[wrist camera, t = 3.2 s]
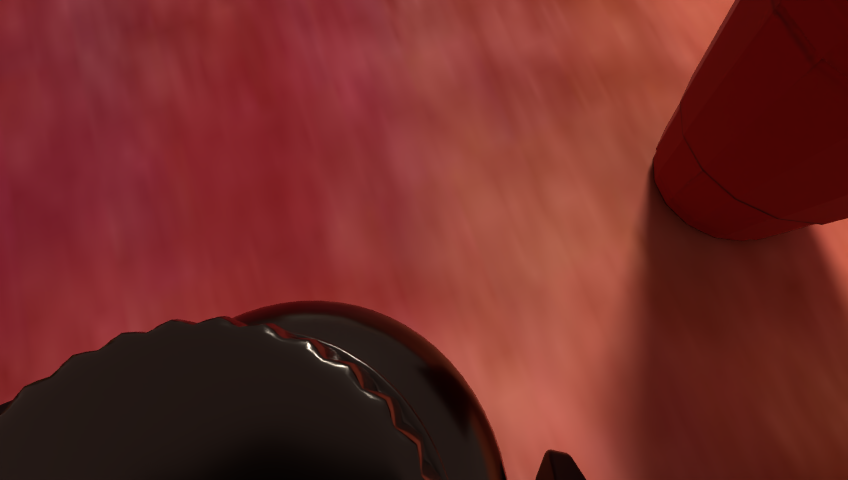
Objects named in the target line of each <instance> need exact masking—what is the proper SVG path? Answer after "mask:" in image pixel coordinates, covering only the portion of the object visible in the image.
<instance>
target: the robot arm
mask: <svg viewBox="0 0 848 480" xmlns="http://www.w3.org/2000/svg"><path fill="white" fill-rule="evenodd" d="M11 402H12V401H9V402H7V403H4V404H2V405H0V414H1V413H3V412H4V411H5V409H6V408H7V407H8V406H9V404H10V403H11ZM536 480H586V479H585V477H584V475H583V474H582V472H581V471H580V469H579V468H578V466H577V465H576V463H575V462H574V460H573V459H572V457H571V456H570V455H569V454H567V453H564V452H560V451H555V450H547V451H546V453H545V455H544V457H543V460H542V463H541V465H540V468H539V471H538V473H537V476H536Z"/></svg>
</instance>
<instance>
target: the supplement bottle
mask: <svg viewBox="0 0 848 480" xmlns="http://www.w3.org/2000/svg"><path fill="white" fill-rule="evenodd" d="M0 480H507V476H506V472H505V468H504V464H503V460H502V456H501V452H500V449H499V446H498V443H497V440H496V437H495V435H494V432H493V429H492V427H491V425H490V423H489V420H488V418H487V416H486V414H485V411H484V410H483V408H482V406H481V404H480V403H479V401H478V399H477V397H476V395H475V394H474V392H473V391H472V389H471V388H470V386H469V385H468V383H467V382H466V380H465V379H464V378H463V376H462V375H461V374H460V373H459V371H458V370H457V369H456V368H455V367H454V365H453V364H452V363H451V362H450V361H449V360H448V359H447V358H446V357H445V356H444V355H443V354H442V353H441V352H440V351H439V350H438V349H437V348H436V347H435V346H434V345H432V344H431V343H430V342H429V341H427V340H426V339H425V338H424V337H422V336H421V335H420V334H418V333H417V332H415V331H414V330H412V329H411V328H409V327H407V326H406V325H404V324H402V323H400V322H398V321H396V320H394V319H393V318H391V317H388V316H386V315H383V314H381V313H378V312H376V311H373V310H370V309H367V308H363V307H360V306H356V305H351V304H346V303H340V302H330V301H296V302H288V303H280V304H276V305H271V306H266V307H262V308H259V309H256V310H252V311H249V312H246V313H243V314H241V315H238V316H236V317H233V318H230V317H226V316H221V317H216V318H212V319H208V320H205V321H202V322H200V323H194V322H190V321H185V320H179V319H175V320H170V321H168V322H165V323H163V324H161V325H159V326H157V327H156V328H155V329H153V330H151V331H149V332H147V333H146V332H126V333H121V334H120V335H118V336H117V337H115V338H114V339H112V340H111V341H109V342H108V343H107V344H106V345H105V346H104V347H102V348H101V349H99V350H97V351H89V352H83V353H79V354H75V355H72V356H71V357H70V358H69V359H68V360H67V361H66V362H64V363H63V364H62V365H61V366H60V368H59V369H58V370H57V371H56V372H55V373H54V374H52V375H51V376H50V377H47V378H44V379H41V380H38V381H36V382H33V383H31V384H29V385H27V386H24V387H23V389H22V390H21V391H20V392H19V393H18V394H17V396H16V397H15V398H14V399H13V400H12V402H11V403H10V404H9V406H8V407H7V408H6V409H5V411H4V412H3V413H1V414H0Z"/></svg>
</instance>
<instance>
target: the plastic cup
mask: <svg viewBox="0 0 848 480" xmlns="http://www.w3.org/2000/svg"><path fill="white" fill-rule="evenodd" d="M653 161H654V178H655V183H656V185H657V187H658V189H659V191H660V193H661V195H662V197H663V199H664V201H665V203H666V204H667V205H668V206H669V207H670V208H671V209H672V210H673V211H674V212H675V213H676V214H677V215H678V216H679V217H680V218H681V219H682V220H683V221H684V222H686V223H687V224H688V225H690V226H692V227H694V228H696V229H698V230H700V231H702V232H704V233H707V234H709V235H711V236H713V237H716V238H724V239H732V240H740V241H745V240H748V239H754V240H758V239H762V238H766V237H769V236H773V235H777V234H781V233H785V232H788V231H792V230H795V229H799V228H803V227H806V226H810V225H813V224H820V225H823V224H827V223H831V222H834V221H838V220H842V219H846V218H848V0H735V1H734V3H733V5H732V7H731V8H730V10H729V12H728V14H727V16H726V17H725V19H724V21H723V23H722V24H721V26H720V28H719V30H718V31H717V33H716V35H715V37H714V38H713V40H712V42H711V44H710V45H709V47H708V49H707V51H706V52H705V54H704V56H703V58H702V60H701V61H700V63H699V65H698V67H697V68H696V70H695V72H694V74H693V75H692V77H691V80H690V82H689V84H688V86H687V88H686V90H685V93H684V95H683V97H682V99H681V101H680V104H679V106H678V107H677V109H676V111H675V112H674V114H673V116H672V118H671V119H670V121H669V123H668V125H667V126H666V128H665V130H664V133H663V135H662V137H661V139H660V141H659V144H658V146H657V148H656V154H655V156H654V158H653Z"/></svg>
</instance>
